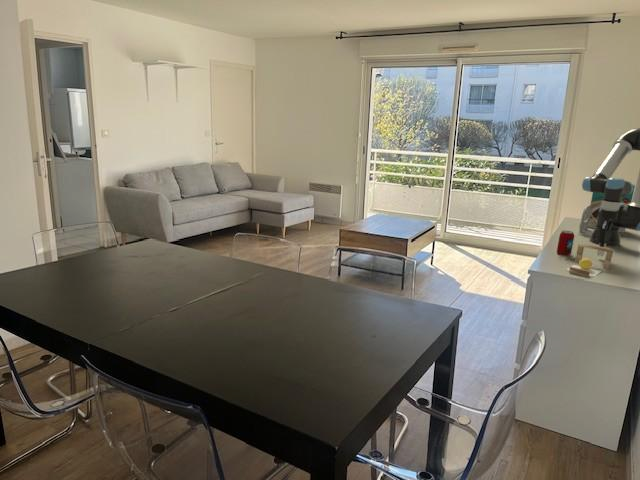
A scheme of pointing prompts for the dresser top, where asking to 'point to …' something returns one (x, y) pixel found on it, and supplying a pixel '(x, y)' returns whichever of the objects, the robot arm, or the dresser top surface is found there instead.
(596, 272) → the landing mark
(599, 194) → the cake mix box
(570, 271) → the wall
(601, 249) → the bridge
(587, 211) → the ornament
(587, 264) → the ball
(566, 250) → the beverage can
